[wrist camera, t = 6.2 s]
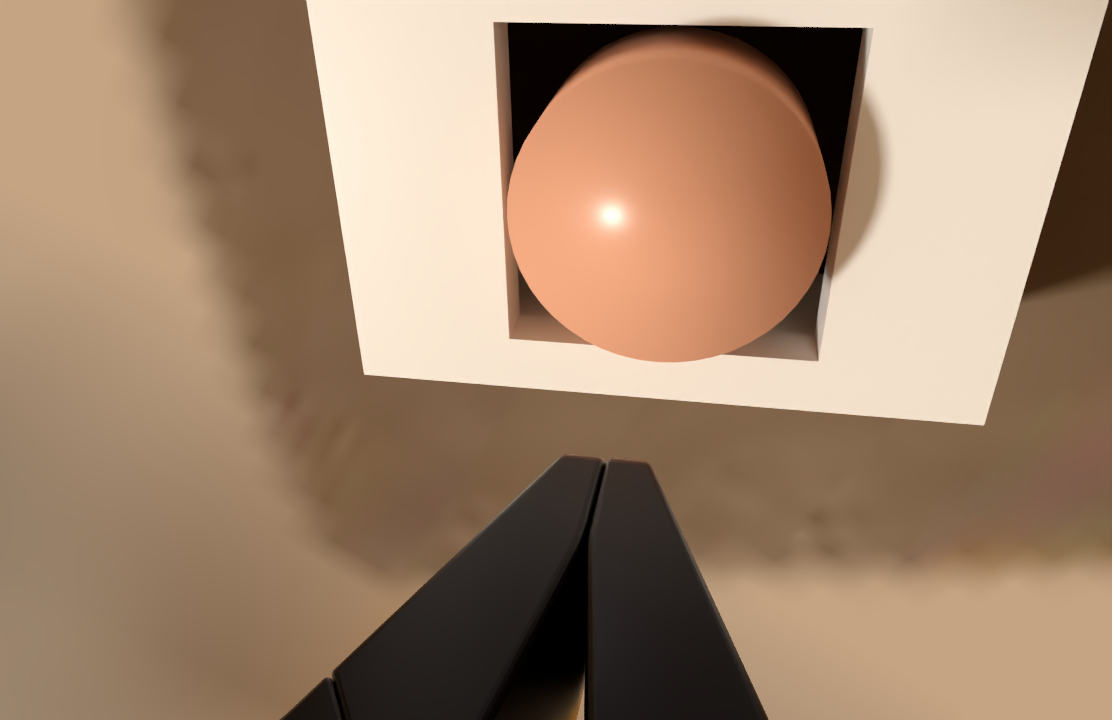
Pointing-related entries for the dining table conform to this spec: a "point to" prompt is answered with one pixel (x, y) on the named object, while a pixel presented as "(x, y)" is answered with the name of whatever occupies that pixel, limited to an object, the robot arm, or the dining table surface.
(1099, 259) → the dining table surface
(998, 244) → the button console
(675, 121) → the terracotta button
